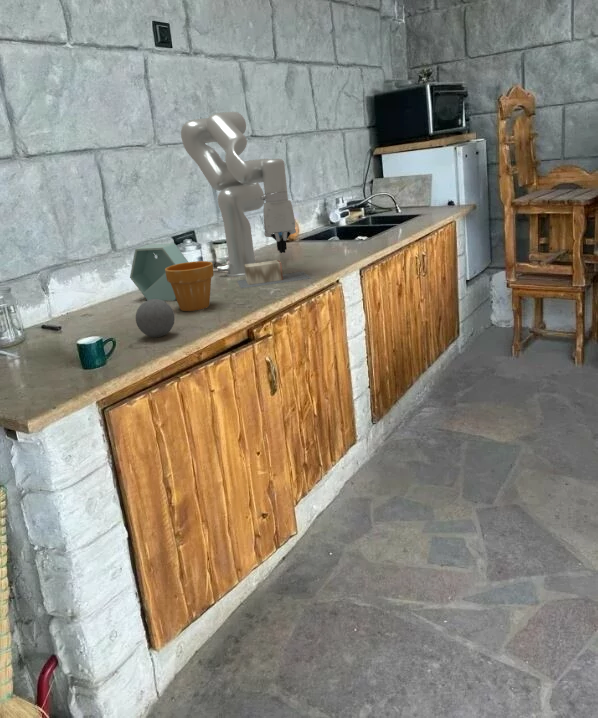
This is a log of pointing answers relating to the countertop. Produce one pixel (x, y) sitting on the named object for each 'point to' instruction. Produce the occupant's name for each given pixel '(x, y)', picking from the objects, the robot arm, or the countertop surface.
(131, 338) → the countertop surface
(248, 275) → the birch block
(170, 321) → the decorative ball
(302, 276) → the slate mat
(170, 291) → the planter
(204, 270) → the flower pot
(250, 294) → the countertop surface
